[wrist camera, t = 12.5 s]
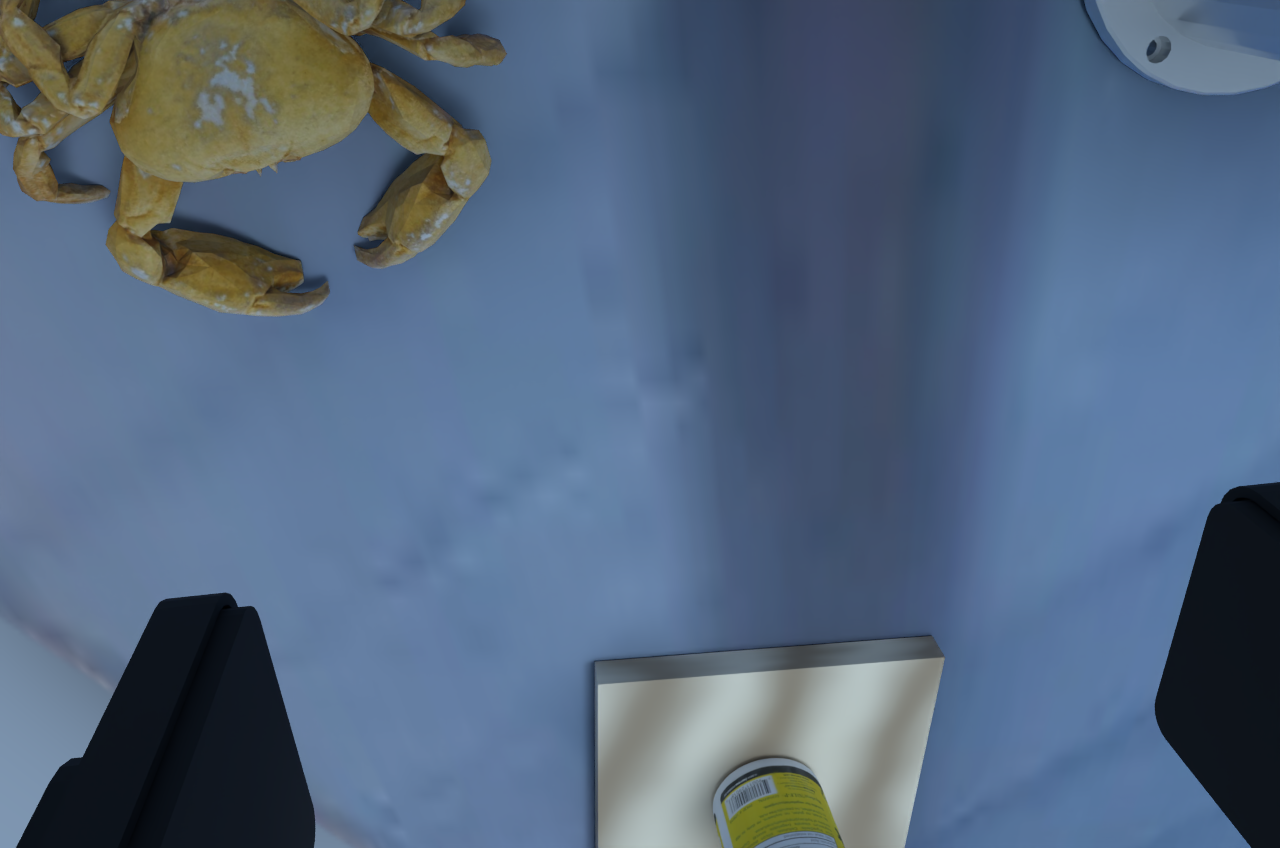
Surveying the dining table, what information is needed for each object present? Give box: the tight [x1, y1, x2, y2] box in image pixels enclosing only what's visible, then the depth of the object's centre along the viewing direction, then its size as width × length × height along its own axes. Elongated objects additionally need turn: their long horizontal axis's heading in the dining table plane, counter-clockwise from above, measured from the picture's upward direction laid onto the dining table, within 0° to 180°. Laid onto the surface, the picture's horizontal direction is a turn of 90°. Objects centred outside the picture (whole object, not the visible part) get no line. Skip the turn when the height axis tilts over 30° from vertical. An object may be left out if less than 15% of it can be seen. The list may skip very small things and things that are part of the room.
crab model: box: [0, 0, 507, 317], centre depth 29 cm, size 16×13×6 cm
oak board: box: [595, 636, 945, 848], centre depth 48 cm, size 16×16×2 cm
